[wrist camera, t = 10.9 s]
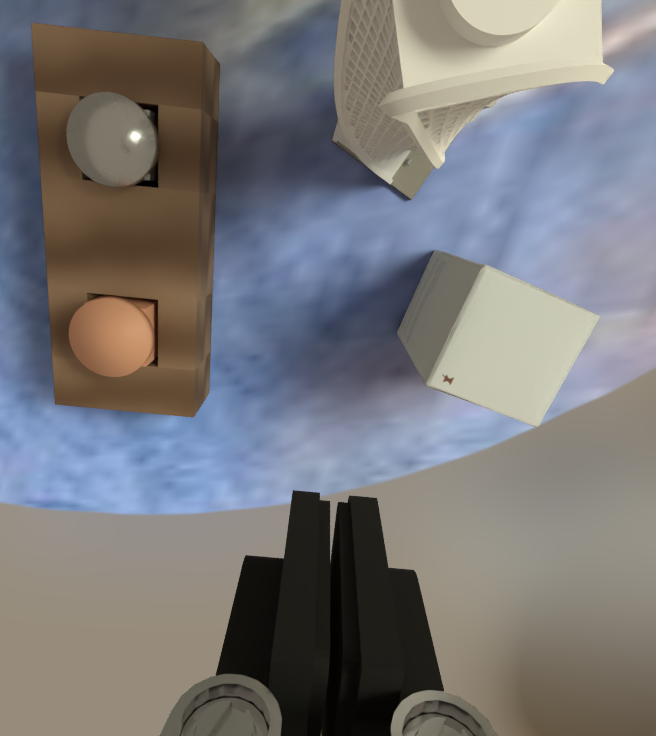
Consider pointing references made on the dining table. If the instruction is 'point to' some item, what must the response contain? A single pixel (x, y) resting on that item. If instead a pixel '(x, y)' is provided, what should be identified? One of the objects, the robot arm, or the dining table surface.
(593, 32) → the skyscraper
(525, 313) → the supplement box
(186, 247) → the plug block
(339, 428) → the dining table surface
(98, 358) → the terracotta plug
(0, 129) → the dining table surface
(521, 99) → the dining table surface
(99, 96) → the plug
